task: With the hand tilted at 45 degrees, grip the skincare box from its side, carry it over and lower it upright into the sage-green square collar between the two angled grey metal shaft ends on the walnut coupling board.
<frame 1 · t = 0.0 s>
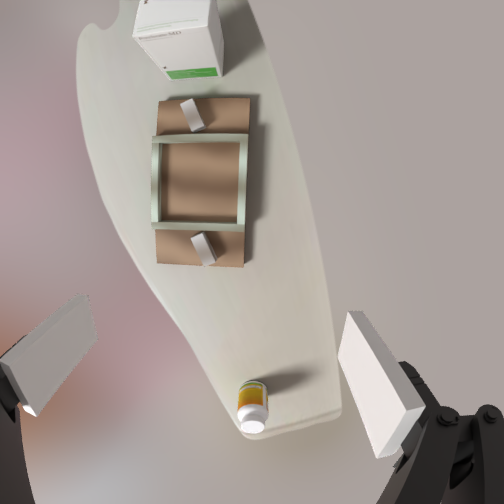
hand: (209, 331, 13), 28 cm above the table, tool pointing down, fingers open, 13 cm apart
supplement bottle: (253, 389, 48), on the table
skincare box: (198, 61, 33), on the table
coupling board: (201, 181, 38), on the table
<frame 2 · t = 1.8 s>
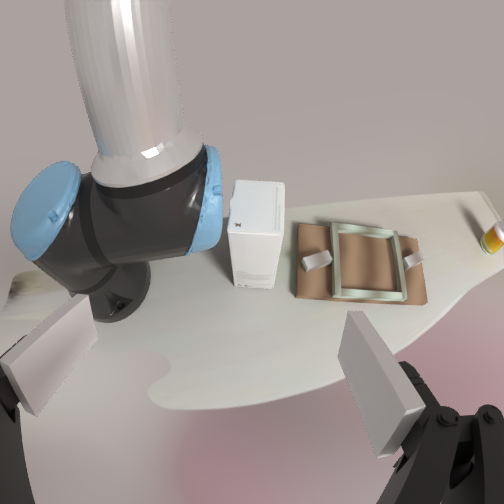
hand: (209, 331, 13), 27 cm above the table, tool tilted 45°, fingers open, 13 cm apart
supplement bottle: (485, 246, 48), on the table
skincare box: (254, 265, 45), on the table
coupling board: (363, 267, 45), on the table
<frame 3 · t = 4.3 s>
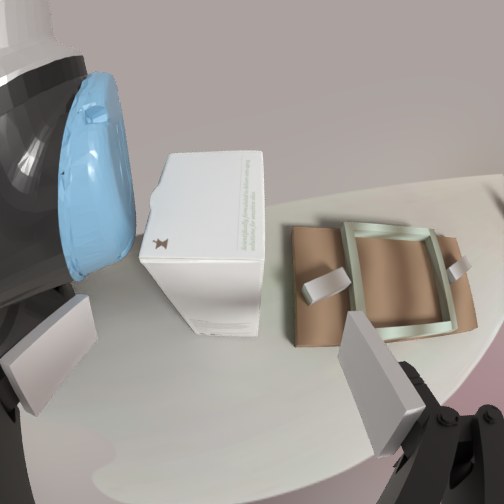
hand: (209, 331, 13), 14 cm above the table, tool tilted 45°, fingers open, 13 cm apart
skincare box: (225, 298, 28), on the table
coupling board: (393, 286, 29), on the table
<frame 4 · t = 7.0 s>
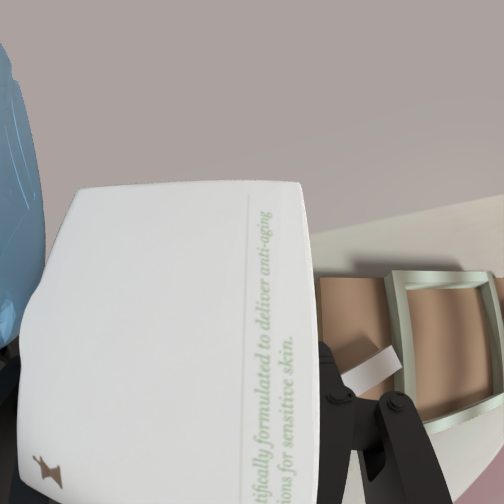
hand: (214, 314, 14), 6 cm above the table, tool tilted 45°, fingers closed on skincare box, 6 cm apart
skincare box: (220, 384, 18), on the table, touching gripper
coupling board: (443, 352, 18), on the table
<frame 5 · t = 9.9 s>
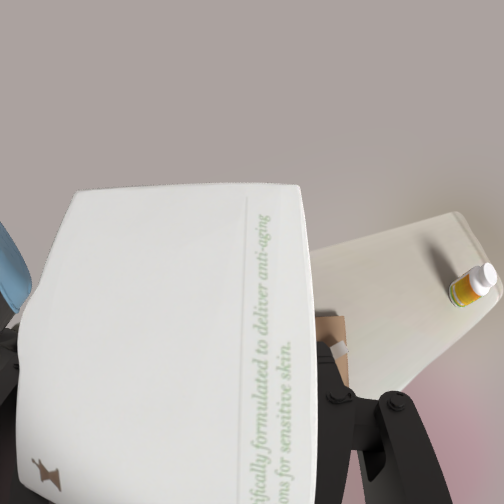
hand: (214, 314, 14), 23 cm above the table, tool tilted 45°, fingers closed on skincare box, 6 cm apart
supplement bottle: (457, 295, 40), on the table
skincare box: (219, 385, 18), point 17 cm above the table, touching gripper
coupling board: (258, 366, 34), on the table
when the fingers open (9 cm above the table, at t = 13.2 s): skincare box drops 2 cm, resting on coupling board.
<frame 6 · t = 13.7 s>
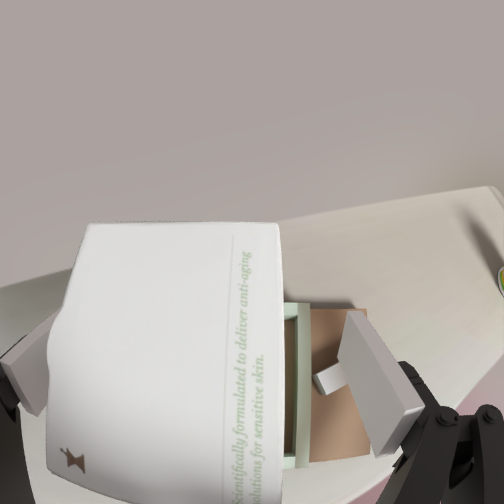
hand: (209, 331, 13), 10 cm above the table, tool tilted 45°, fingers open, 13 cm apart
skincare box: (217, 385, 19), point 1 cm above the table, touching coupling board
coupling board: (223, 385, 20), on the table
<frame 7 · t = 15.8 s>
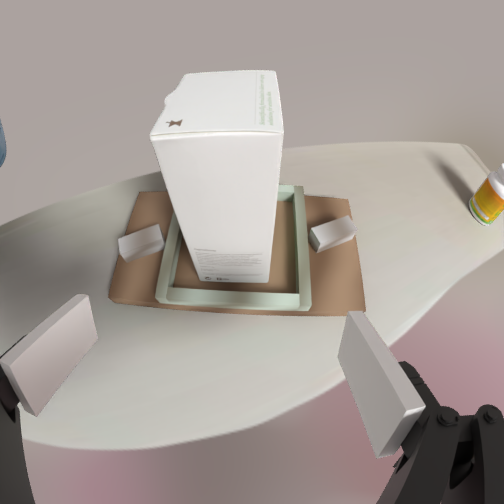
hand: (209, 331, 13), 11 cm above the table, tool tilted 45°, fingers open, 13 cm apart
supplement bottle: (478, 213, 32), on the table
skincare box: (233, 244, 26), point 1 cm above the table, touching coupling board
coupling board: (237, 251, 28), on the table
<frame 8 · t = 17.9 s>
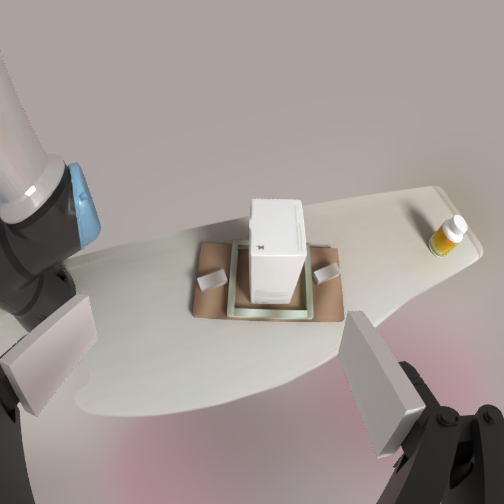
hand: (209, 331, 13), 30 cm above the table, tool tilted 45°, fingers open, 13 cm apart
supplement bottle: (436, 248, 50), on the table
skincare box: (268, 280, 45), point 1 cm above the table, touching coupling board
coupling board: (269, 283, 46), on the table
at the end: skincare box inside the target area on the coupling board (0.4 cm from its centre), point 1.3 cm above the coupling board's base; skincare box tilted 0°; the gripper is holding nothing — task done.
